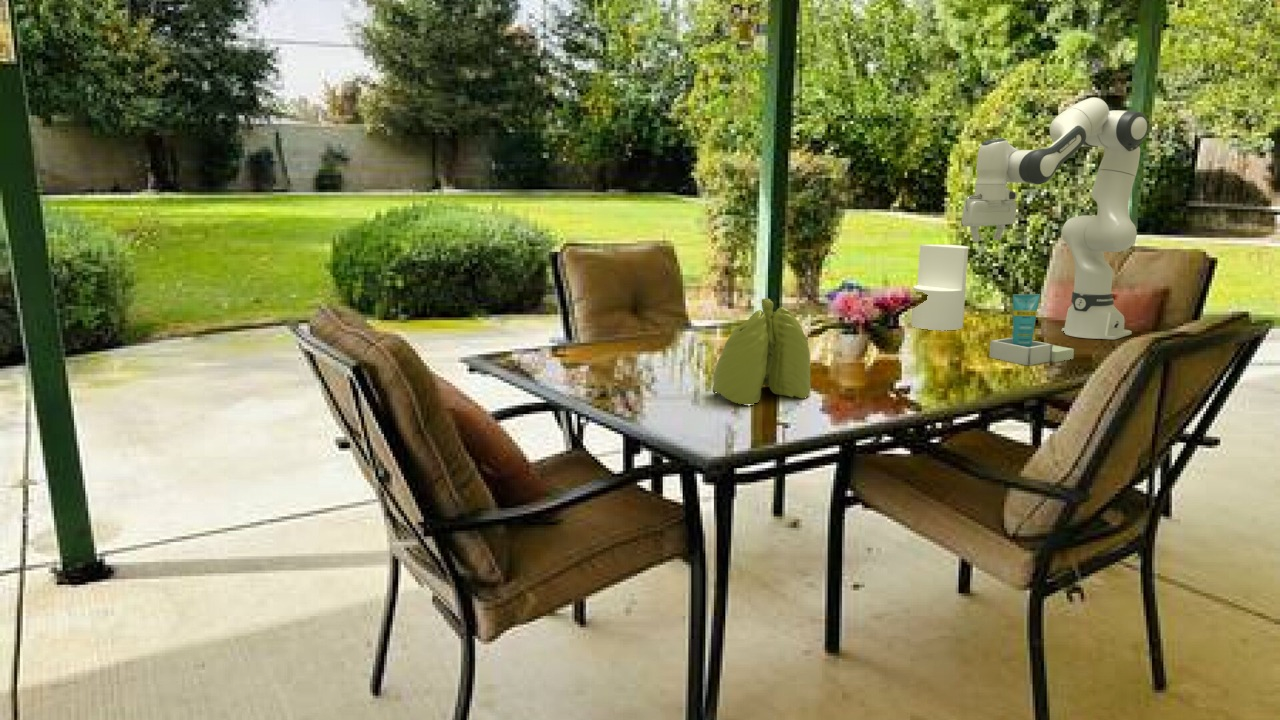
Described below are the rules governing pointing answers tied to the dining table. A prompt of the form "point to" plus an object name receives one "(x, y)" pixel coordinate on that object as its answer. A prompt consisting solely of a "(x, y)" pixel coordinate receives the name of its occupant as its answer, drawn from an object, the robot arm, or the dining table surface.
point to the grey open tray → (1029, 352)
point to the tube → (1024, 318)
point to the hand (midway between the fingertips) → (986, 240)
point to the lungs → (764, 358)
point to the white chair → (941, 287)
